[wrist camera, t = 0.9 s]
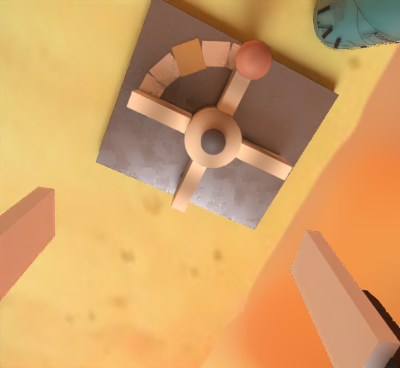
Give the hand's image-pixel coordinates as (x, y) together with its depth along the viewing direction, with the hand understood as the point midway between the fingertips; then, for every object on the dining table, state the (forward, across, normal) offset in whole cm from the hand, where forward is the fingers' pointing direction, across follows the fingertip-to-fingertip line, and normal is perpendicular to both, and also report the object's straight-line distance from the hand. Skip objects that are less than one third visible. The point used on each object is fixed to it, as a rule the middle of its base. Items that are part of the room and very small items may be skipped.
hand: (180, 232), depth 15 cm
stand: (+22, +2, +2) cm, 22 cm away
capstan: (+20, +2, +2) cm, 20 cm away
